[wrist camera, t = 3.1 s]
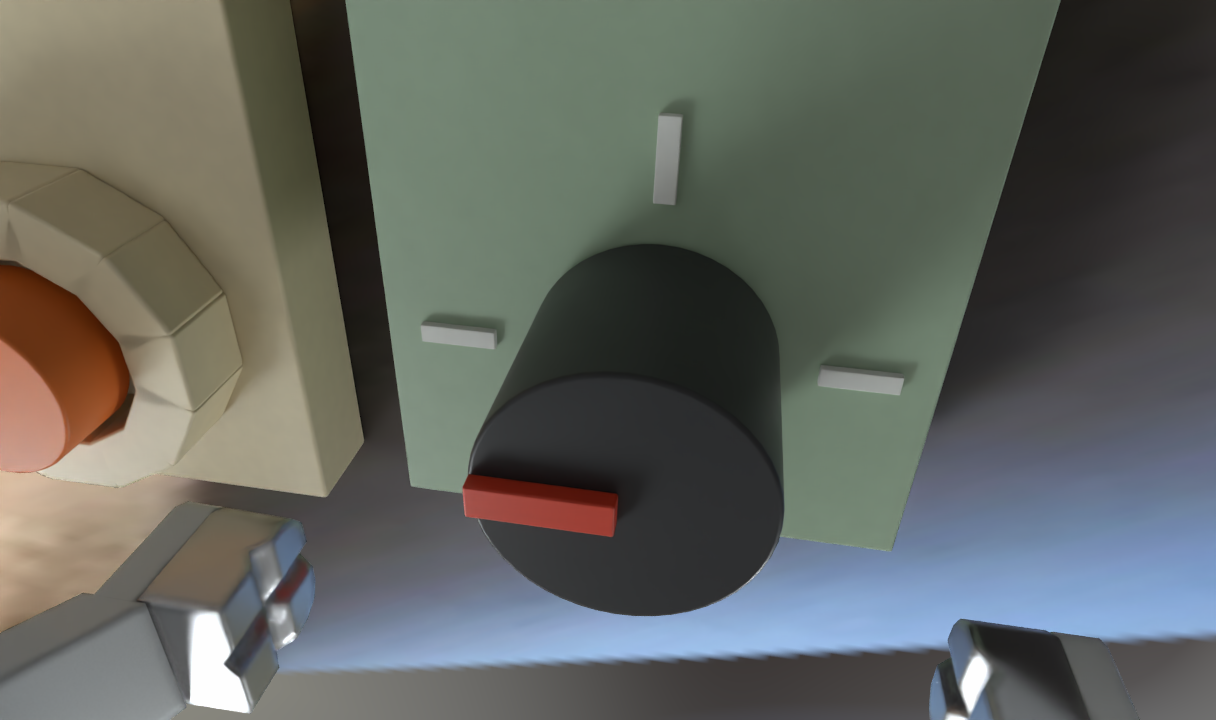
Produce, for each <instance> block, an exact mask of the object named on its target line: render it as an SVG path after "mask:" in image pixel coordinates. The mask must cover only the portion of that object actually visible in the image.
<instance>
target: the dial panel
mask: <svg viewBox="0 0 1216 720" xmlns="http://www.w3.org/2000/svg"><path fill="white" fill-rule="evenodd" d="M345 1H346V8H347V15H348V23H349V30H350V38H351V45H352V53H353V60H354V67H355V75H356V82H357V90H358V97H359V105H360V112H361V119H362V127H363V134H364V142H365V149H366V157H367V164H368V171H369V179H370V186H371V194H372V201H373V209H374V216H375V223H376V231H377V238H378V246H379V253H380V261H381V268H382V275H383V283H384V290H385V298H386V305H387V313H388V320H389V328H390V335H391V342H392V350H393V357H394V365H395V372H396V380H397V387H398V394H399V402H400V409H401V417H402V424H403V432H404V439H405V446H406V454H407V461H408V469H409V476H410V484H411V486H412V487H419V488H427V489H434V490H441V491H449V492H456V493H463V490H462V487H463V485H464V483H465V480H466V478H467V476H468V465H469V459H470V453H471V451H472V448H473V445H474V442H475V440H476V437H477V435H478V433H479V431H480V429H481V427H482V425H483V423H484V421H485V419H486V417H487V415H488V413H489V411H490V409H491V406H492V404H493V402H494V400H495V398H496V396H497V394H498V392H499V390H500V388H501V386H502V384H503V382H504V380H505V378H506V376H507V374H508V372H509V370H510V368H511V366H512V363H513V361H514V359H515V357H516V355H517V353H518V351H519V349H520V347H521V345H522V343H523V341H524V339H525V337H526V335H527V333H528V331H529V329H530V327H531V325H532V323H533V320H534V318H535V316H536V314H537V312H538V310H539V308H540V306H541V304H542V302H543V301H544V299H545V297H546V295H547V294H548V292H549V291H550V289H551V288H552V287H553V286H554V284H555V283H556V282H557V281H558V280H559V279H560V278H561V277H562V276H563V275H564V274H565V273H566V272H567V271H568V270H570V269H571V268H573V267H574V266H576V265H577V264H578V263H580V262H581V261H583V260H585V259H587V258H589V257H591V256H593V255H595V254H598V253H601V252H604V251H606V250H609V249H613V248H618V247H622V246H627V245H638V244H660V245H668V246H674V247H680V248H683V249H687V250H690V251H694V252H697V253H699V254H702V255H704V256H706V257H709V258H711V259H713V260H715V261H717V262H718V263H720V264H722V265H724V266H725V267H727V268H728V269H730V270H731V271H732V272H734V273H735V274H736V275H738V276H739V277H740V278H741V279H742V280H743V281H744V282H746V283H747V284H748V285H749V286H750V287H751V288H752V289H753V291H754V292H755V293H756V295H757V296H758V297H759V298H760V300H761V301H762V302H763V304H764V306H765V308H766V309H767V311H768V313H769V315H770V317H771V319H772V322H773V324H774V327H775V330H776V334H777V338H778V343H779V355H780V383H781V413H782V444H783V474H784V504H785V512H784V521H783V528H782V531H781V535H780V537H788V538H795V539H802V540H810V541H817V542H825V543H832V544H839V545H847V546H854V547H861V548H869V549H876V550H884V551H892V548H893V545H894V542H895V539H896V535H897V532H898V529H899V525H900V522H901V519H902V516H903V512H904V509H905V506H906V503H907V499H908V496H909V493H910V490H911V486H912V483H913V480H914V477H915V473H916V470H917V467H918V464H919V460H920V457H921V454H922V451H923V447H924V444H925V441H926V437H927V434H928V431H929V428H930V424H931V421H932V418H933V415H934V411H935V408H936V405H937V402H938V398H939V395H940V392H941V389H942V385H943V382H944V379H945V376H946V372H947V369H948V366H949V363H950V359H951V356H952V353H953V350H954V346H955V343H956V340H957V336H958V333H959V330H960V327H961V323H962V320H963V317H964V314H965V310H966V307H967V304H968V301H969V297H970V294H971V291H972V288H973V284H974V281H975V278H976V275H977V271H978V268H979V265H980V262H981V258H982V255H983V252H984V248H985V245H986V242H987V239H988V235H989V232H990V229H991V226H992V222H993V219H994V216H995V213H996V209H997V206H998V203H999V200H1000V196H1001V193H1002V190H1003V187H1004V183H1005V180H1006V177H1007V174H1008V170H1009V167H1010V164H1011V160H1012V157H1013V154H1014V151H1015V147H1016V144H1017V141H1018V138H1019V134H1020V131H1021V128H1022V125H1023V121H1024V118H1025V115H1026V112H1027V108H1028V105H1029V102H1030V99H1031V95H1032V92H1033V89H1034V86H1035V82H1036V79H1037V76H1038V72H1039V69H1040V66H1041V63H1042V59H1043V56H1044V53H1045V50H1046V46H1047V43H1048V40H1049V37H1050V33H1051V30H1052V27H1053V24H1054V20H1055V17H1056V14H1057V11H1058V7H1059V4H1060V1H1061V0H345Z"/></svg>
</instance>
